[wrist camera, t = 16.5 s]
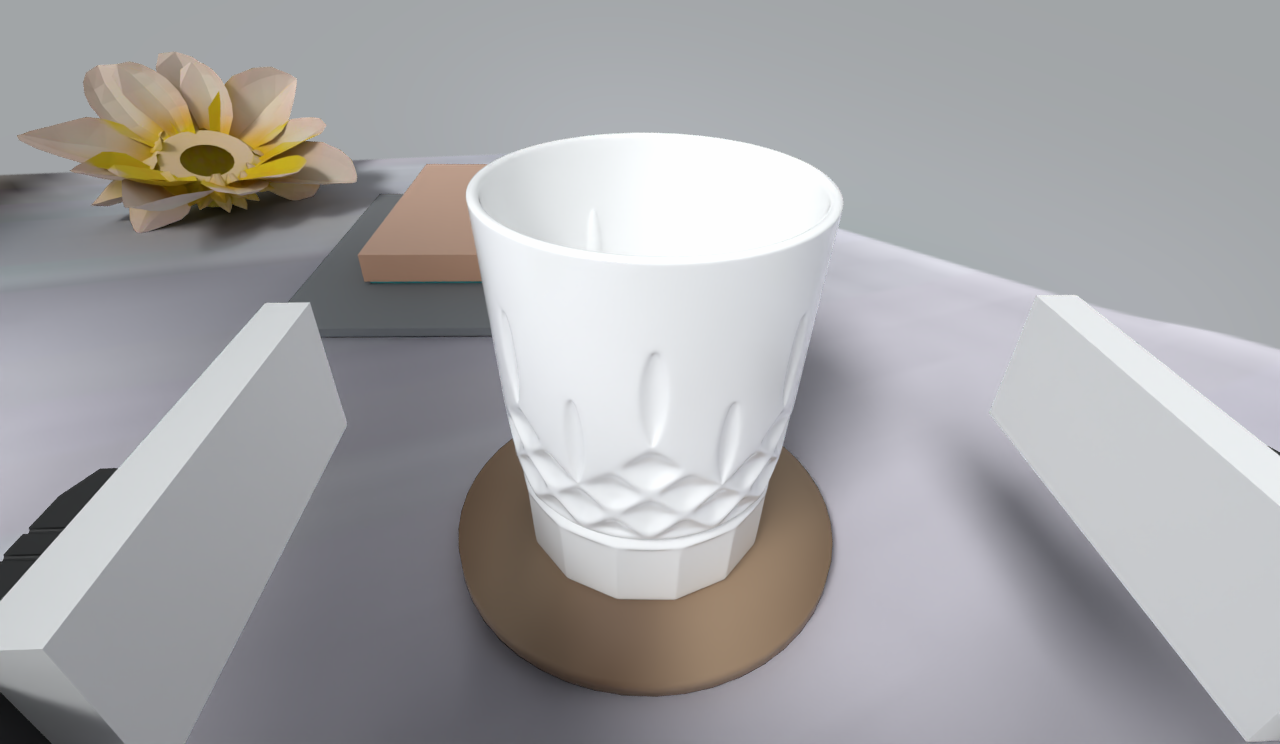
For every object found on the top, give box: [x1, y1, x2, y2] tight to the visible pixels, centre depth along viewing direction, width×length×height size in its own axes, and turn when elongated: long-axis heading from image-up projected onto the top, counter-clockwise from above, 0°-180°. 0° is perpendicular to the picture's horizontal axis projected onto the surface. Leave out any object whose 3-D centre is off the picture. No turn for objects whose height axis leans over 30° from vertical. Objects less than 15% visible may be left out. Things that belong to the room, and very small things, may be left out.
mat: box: [288, 194, 492, 337], centre depth 36 cm, size 16×17×1 cm
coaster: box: [459, 438, 832, 696], centre depth 20 cm, size 11×11×1 cm
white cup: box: [466, 133, 843, 600], centre depth 17 cm, size 8×8×10 cm
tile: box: [358, 164, 488, 283], centre depth 37 cm, size 12×2×14 cm
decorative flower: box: [17, 52, 357, 233], centre depth 37 cm, size 15×11×10 cm
